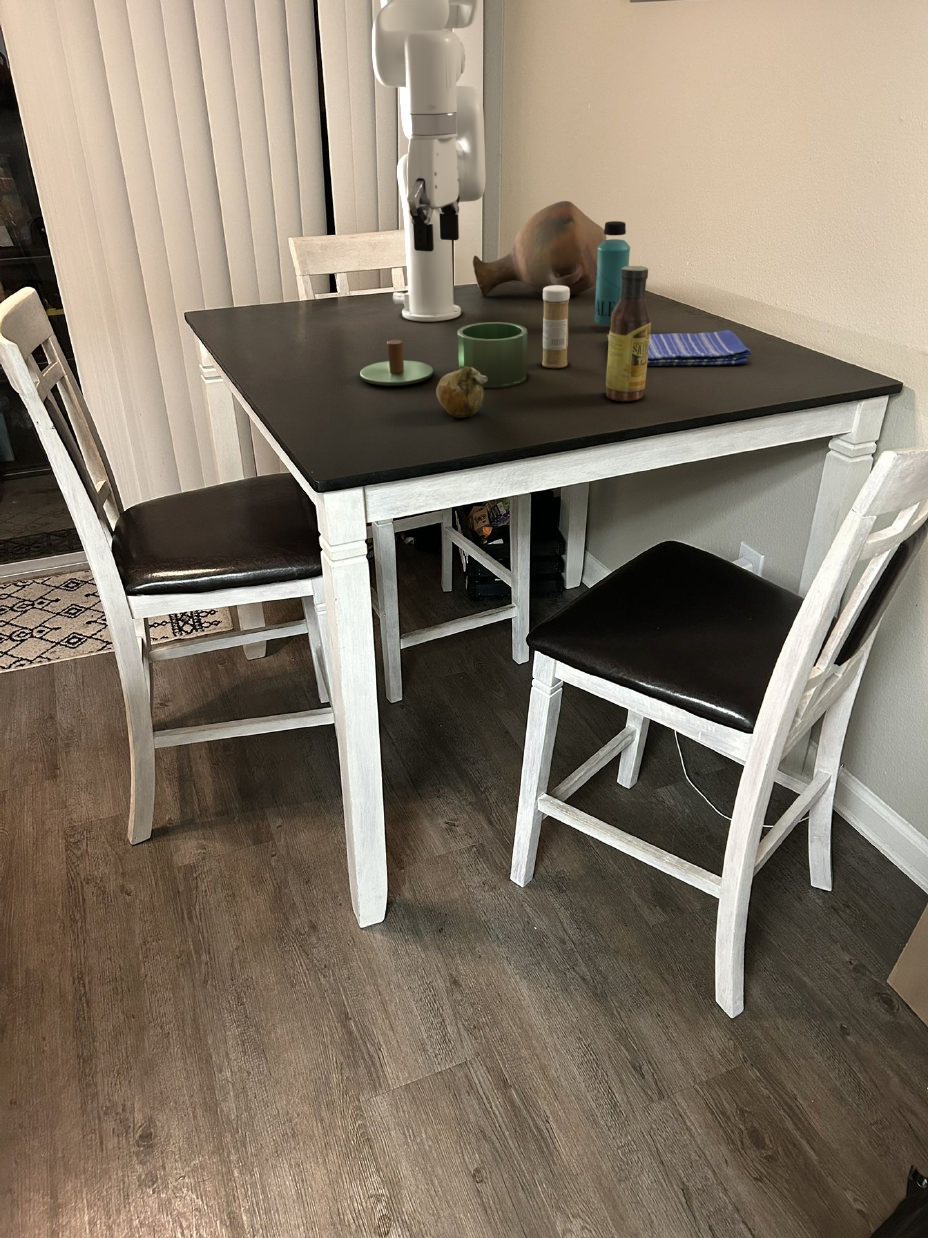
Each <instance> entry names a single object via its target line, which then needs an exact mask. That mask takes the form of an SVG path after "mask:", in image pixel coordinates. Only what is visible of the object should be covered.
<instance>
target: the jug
mask: <svg viewBox="0 0 928 1238" xmlns="http://www.w3.org/2000/svg"><path fill="white" fill-rule="evenodd" d="M604 229H605V228H603V227H602V226H601V225H599V224H597V223H596V222H595V221H594V220H592V219H591V218H590V217H589V216H587V215H586V214H585V213H584V212H583V211H582V210H581V209H580V208H579V207H578V206H577V205H575V204H574V203H573V202H572V201H569V200H562V201H557V202H555V203H552V204H550V205H548V206H545V207H544V208H542V209H540V210H539V211H538V212H537V211H536V213H534V214H533V215H532V216H531V217H529V218H528V219H527V221H525V223H524V224H523V225H521V228H520V229H519V231H518V233H517V234H516V237H515V240H514V244H513V247H512V249H511V251H510V252H508V253H507V254H506V255H504V256H503V257H501V258H498V259H497V260H494V261H490V262H484V261H483V260H481V259H480V258H479V257H478V256H477V255H474V256H473V257H472V267H473V268H472V269H473V274H474V278H475V281H476V285H477V287H478V289H479V292H480V293H481V294H482V297H484V298H486V297H487V295H488V294H489V293H491V292H492V290H494V289H495V288H496V287H498V286H499V285H502V284H505V283H508V282H513V281H515V282H516V281H517V282H518V281H519V282H522V283H524V285H525V286H526V287H527V288H528V289H530V290H531V291H533V292H534V293H536V294H539V295H542V296H543V289H544V288H545V287H547V286H554V285H560V286H566V287H569V289H570V296H574V295H578V294H581V293H583V292H586V291H587V290H589V289H591V288H592V287H593V286H594V285H596V277H597V276H596V274H597V272H596V267H597V265H596V264H597V260H598V246H599V245H600V244H601V243H602V242H603V241H604V240H607V235H605V234H604Z"/></svg>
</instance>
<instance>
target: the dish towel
mask: <svg viewBox="0 0 928 1238" xmlns="http://www.w3.org/2000/svg"><path fill="white" fill-rule="evenodd" d="M607 339H608V340H607V341H609V333H608V334H607ZM752 354H753V352H752V351H751V349H750V348H748V347H746V345H745V344H744V343H743V342H742V339H740V338H739V337H738V336H737V335H736V334H735V332H733V331H732V330H731V329H725V330H724V329H723V330H721V331H713V332H698V333H688V332H687V333H683V332H682V333H677V332H676V333H675V332H674V333H673V332H672V333H660V334H658V333H657V334H656V333H650V338H649V348H648V359H647V367H648V366H649V367H650V366H652V367H655V366H657V367H659V366H660V367H663V366H666V367H668V366H707V365H708V366H725V365H740V366H741V365H748V359H747V358H749V357H750V355H752Z"/></svg>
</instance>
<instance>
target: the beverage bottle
mask: <svg viewBox="0 0 928 1238" xmlns="http://www.w3.org/2000/svg"><path fill="white" fill-rule="evenodd" d="M626 225H627V224H626V222H624V221H619V220H612V221H610V220H609V221H606V222H605V223H604V228H603V229H604V234H605V235H606V236H623V235H626V234H627V230H626V229H627V228H626ZM630 253H631V246H630V244H629V243H628V242H627V241H626V240H624V239H616V238H612V239H611V238H610V239H606V240H604V241H603V242H602V243H601V244H600V245H599V246H598V260H597V264H596V265H597V267H596V272H597V274H596V276H597V277H596V281H595V290H594V293H595V297H594V305H593V312H594V314H593V320H594V322H595V323H596V324H599V325H603V326H611V316H612V312H613V310H614V308H615V306H616V305H617V304H618V302H619V300H620V298H621V297H620V293H621V283H622V279H621V268H623V267H626V266H630Z"/></svg>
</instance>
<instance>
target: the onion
mask: <svg viewBox="0 0 928 1238" xmlns="http://www.w3.org/2000/svg"><path fill="white" fill-rule="evenodd" d="M461 368H462V369H461V370H459V369H457V370H453V371H451V372H448V373H447V374H445V375H443V376H442V377H440V380H439V381H438V383H437V386H436V389H435V393H436V397H437V400H438V402H439V404H440V405H441V408H443V409H444V410H445V411H446V413H447V414H448V415H450V416H452V417H454V418H459V419H463V418H469V417H472V416H473V415H475V414H476V413H477V412H478V411H480V410H481V408H482V406H483V404H484V399H485V390H484V389H485V388H482V386H479V384H482V385H483V384H484V383H485V382H487V380H488V378H487V377H486V376H483V375H481V374H480V373H479V372H478V371H477V370H475V369H474V368H473V367H468V366H461ZM478 383H479V384H478Z"/></svg>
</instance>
